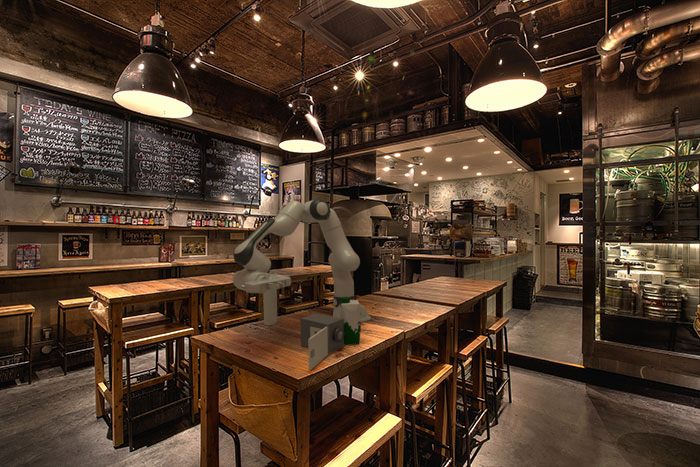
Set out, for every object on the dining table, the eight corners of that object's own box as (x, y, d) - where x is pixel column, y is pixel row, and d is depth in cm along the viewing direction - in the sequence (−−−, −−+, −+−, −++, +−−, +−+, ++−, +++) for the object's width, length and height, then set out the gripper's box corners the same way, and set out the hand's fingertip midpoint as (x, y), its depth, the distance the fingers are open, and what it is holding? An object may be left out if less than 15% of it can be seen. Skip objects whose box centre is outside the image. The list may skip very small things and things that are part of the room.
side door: (311, 370, 111) (311, 339, 111) (308, 370, 111) (308, 338, 111) (330, 353, 126) (329, 326, 126) (327, 353, 126) (326, 325, 126)
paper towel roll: (263, 326, 166) (263, 286, 165) (263, 323, 171) (263, 284, 171) (277, 325, 167) (277, 285, 167) (277, 321, 173) (276, 283, 173)
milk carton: (340, 339, 144) (339, 295, 144) (359, 338, 145) (358, 295, 145) (341, 345, 135) (340, 299, 135) (361, 345, 136) (361, 299, 136)
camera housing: (300, 346, 136) (299, 318, 136) (316, 339, 144) (316, 313, 144) (331, 355, 125) (330, 325, 125) (347, 347, 133) (347, 319, 133)
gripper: (238, 278, 125) (259, 282, 117) (278, 272, 142) (299, 275, 133) (238, 294, 125) (259, 299, 117) (278, 286, 142) (299, 289, 133)
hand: (281, 286), depth 125 cm, fingers closed
